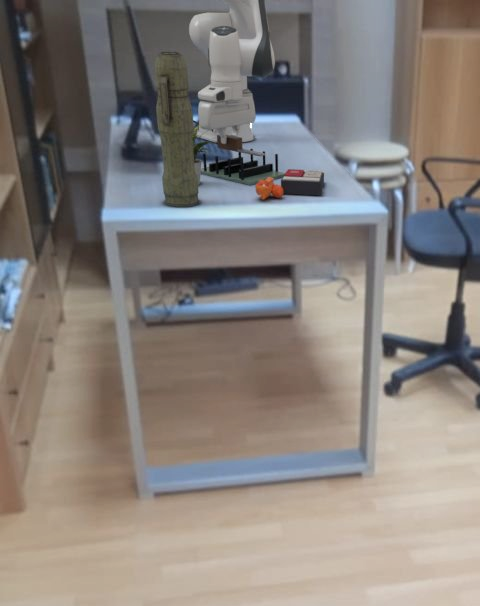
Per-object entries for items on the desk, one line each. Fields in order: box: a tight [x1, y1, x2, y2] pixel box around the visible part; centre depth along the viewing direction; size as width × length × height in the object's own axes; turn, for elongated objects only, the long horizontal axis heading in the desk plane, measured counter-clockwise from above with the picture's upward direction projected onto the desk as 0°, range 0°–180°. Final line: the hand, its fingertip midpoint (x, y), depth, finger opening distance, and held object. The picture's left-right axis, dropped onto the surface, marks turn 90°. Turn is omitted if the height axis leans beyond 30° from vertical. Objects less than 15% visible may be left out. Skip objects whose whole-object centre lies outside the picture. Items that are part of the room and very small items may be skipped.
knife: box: [216, 135, 266, 157], centre depth 228 cm, size 17×2×4 cm, turn 54°
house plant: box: [192, 126, 214, 186], centre depth 215 cm, size 14×14×16 cm
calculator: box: [280, 168, 325, 196], centre depth 220 cm, size 11×4×15 cm
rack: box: [200, 148, 286, 186], centre depth 231 cm, size 22×16×6 cm
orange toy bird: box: [254, 177, 284, 201], centre depth 210 cm, size 5×8×12 cm
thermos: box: [154, 51, 200, 208], centre depth 194 cm, size 9×12×35 cm
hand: (229, 142), depth 230 cm, fingers closed on knife, 2 cm apart
